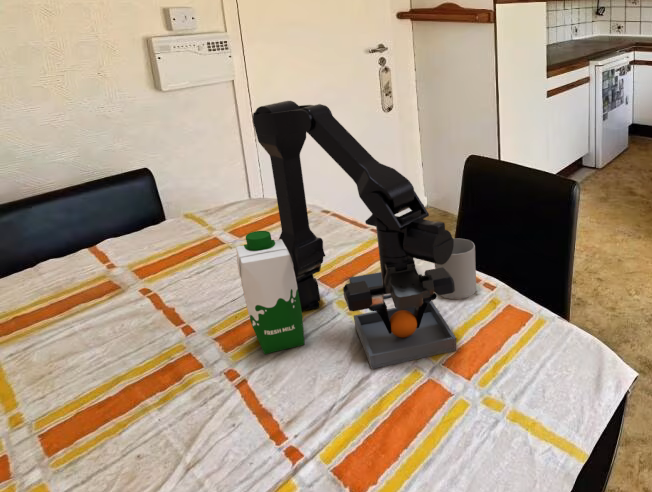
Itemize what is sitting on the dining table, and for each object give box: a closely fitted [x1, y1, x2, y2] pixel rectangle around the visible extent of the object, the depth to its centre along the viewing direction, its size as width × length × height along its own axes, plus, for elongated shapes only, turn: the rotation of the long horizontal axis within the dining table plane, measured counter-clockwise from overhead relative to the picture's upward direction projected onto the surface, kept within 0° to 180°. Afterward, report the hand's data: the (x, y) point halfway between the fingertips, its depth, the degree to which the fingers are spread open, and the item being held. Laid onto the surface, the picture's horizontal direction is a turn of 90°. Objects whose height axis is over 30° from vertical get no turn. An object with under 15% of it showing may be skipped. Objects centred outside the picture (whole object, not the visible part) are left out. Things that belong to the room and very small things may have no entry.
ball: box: [390, 310, 417, 338], centre depth 113 cm, size 5×5×5 cm
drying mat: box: [349, 271, 392, 300], centre depth 134 cm, size 14×12×1 cm
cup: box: [434, 237, 477, 300], centre depth 129 cm, size 8×8×10 cm
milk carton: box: [235, 230, 305, 355], centre depth 109 cm, size 9×9×20 cm
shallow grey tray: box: [353, 300, 458, 370], centre depth 114 cm, size 15×15×3 cm
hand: (403, 329), depth 114 cm, fingers closed on ball, 5 cm apart
